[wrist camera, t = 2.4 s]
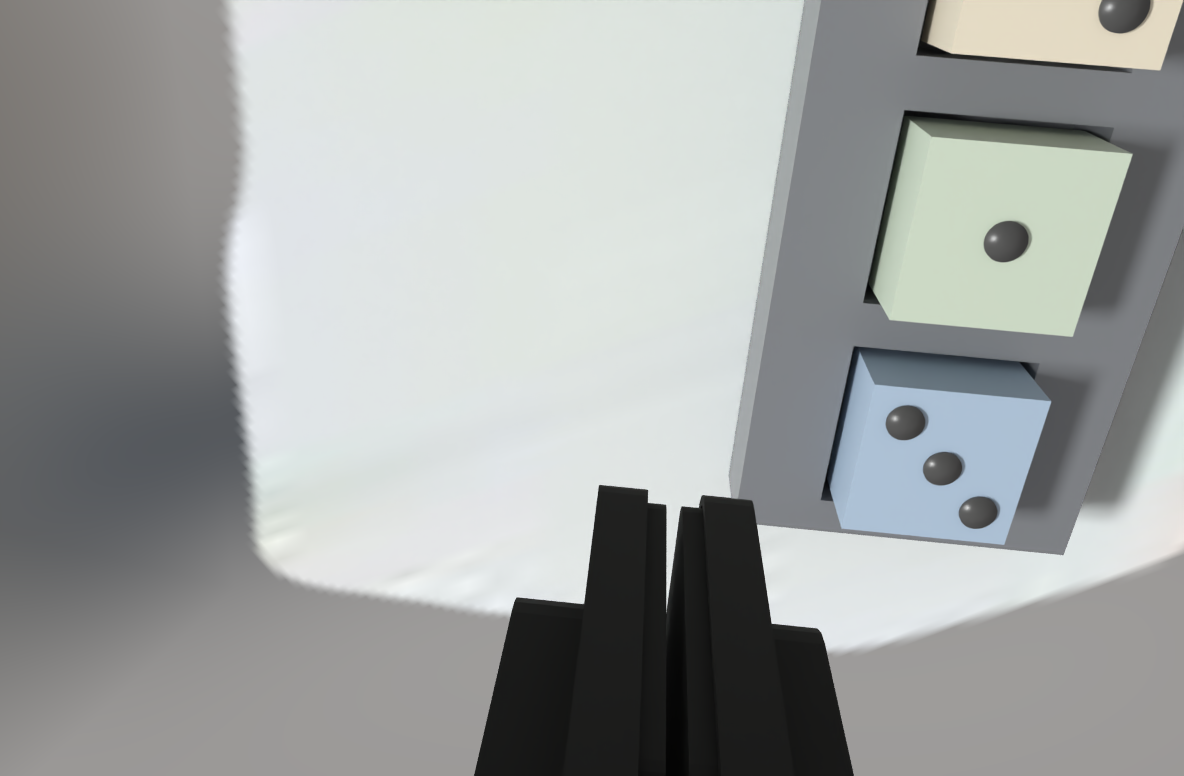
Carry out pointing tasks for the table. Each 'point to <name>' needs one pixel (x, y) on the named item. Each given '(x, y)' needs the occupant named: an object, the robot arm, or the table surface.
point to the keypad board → (850, 233)
